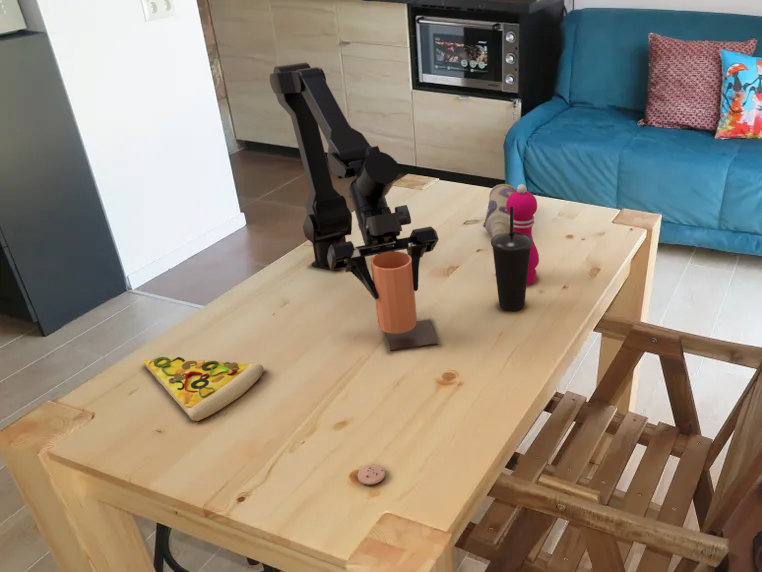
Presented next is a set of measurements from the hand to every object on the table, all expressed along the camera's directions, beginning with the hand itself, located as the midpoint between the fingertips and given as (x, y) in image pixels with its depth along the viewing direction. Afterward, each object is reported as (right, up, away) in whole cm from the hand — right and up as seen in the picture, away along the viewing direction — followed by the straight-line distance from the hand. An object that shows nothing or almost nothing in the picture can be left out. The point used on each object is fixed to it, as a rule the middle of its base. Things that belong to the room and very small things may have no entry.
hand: (396, 294), depth 129 cm
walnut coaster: (+1, -7, +7) cm, 10 cm away
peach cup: (-1, -5, +5) cm, 7 cm away
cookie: (0, -28, -23) cm, 37 cm away
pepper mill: (+22, +6, +25) cm, 34 cm away
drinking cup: (+20, 0, +16) cm, 25 cm away
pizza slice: (-33, -15, -5) cm, 37 cm away
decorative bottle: (+17, +20, +45) cm, 52 cm away
